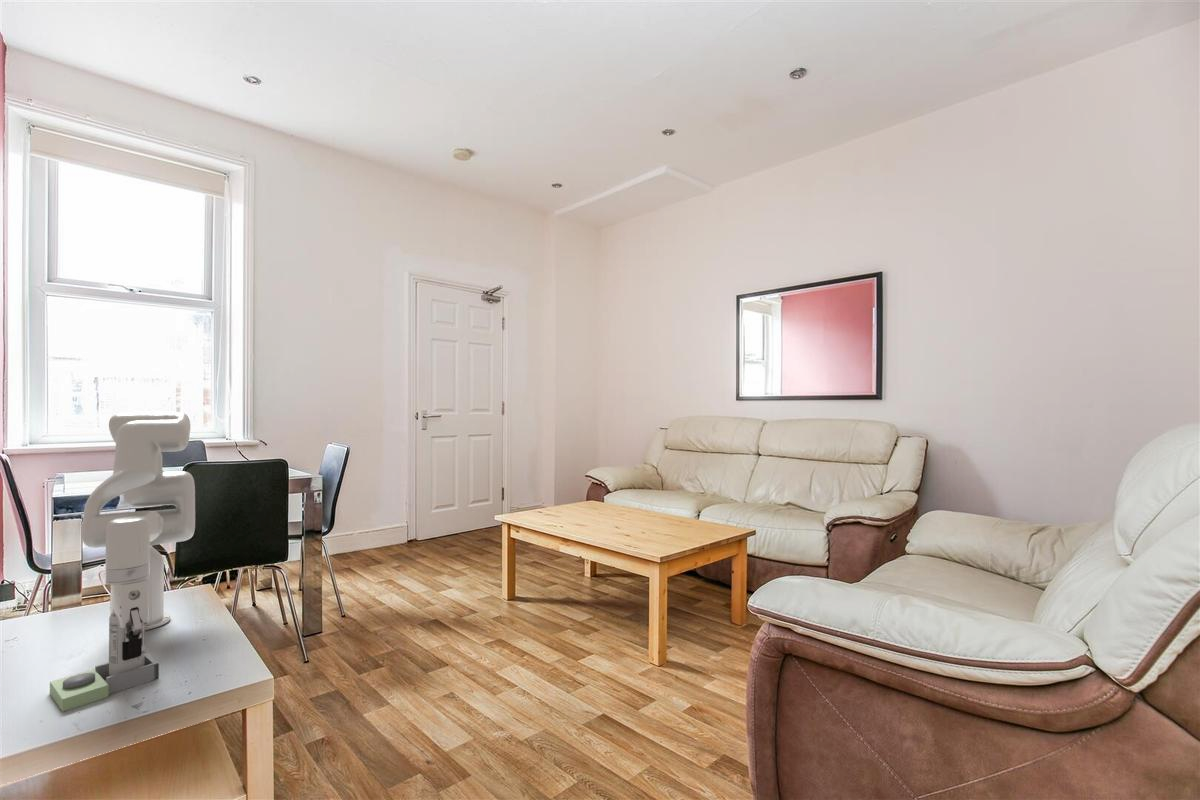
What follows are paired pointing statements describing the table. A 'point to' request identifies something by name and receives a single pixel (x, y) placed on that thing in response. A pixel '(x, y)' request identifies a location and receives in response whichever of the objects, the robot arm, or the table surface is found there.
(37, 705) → the table surface
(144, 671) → the grey open box
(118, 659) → the energy drink can
